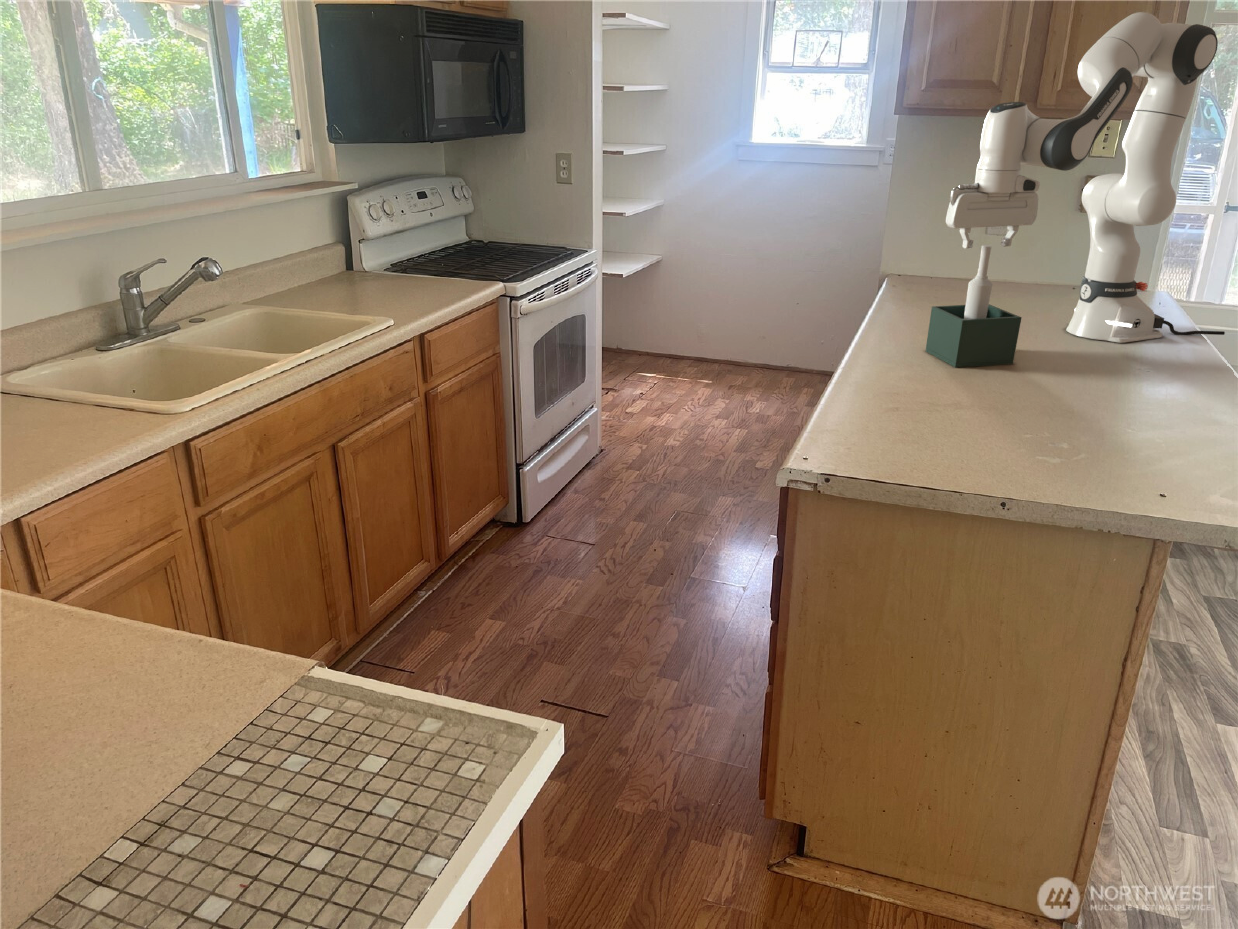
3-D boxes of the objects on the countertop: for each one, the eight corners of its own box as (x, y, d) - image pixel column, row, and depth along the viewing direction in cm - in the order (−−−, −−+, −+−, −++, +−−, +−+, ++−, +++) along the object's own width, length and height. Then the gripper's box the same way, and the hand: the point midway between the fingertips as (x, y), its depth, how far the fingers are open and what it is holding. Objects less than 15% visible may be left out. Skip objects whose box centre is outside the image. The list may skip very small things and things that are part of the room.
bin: (980, 347, 213) (987, 303, 209) (1013, 363, 201) (1021, 317, 196) (925, 351, 211) (931, 306, 206) (955, 367, 198) (962, 320, 194)
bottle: (982, 356, 203) (1001, 248, 193) (959, 355, 203) (976, 247, 193) (978, 350, 207) (996, 244, 197) (955, 349, 208) (972, 243, 198)
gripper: (960, 185, 185) (951, 251, 191) (1046, 182, 189) (1035, 247, 194) (944, 182, 191) (936, 246, 197) (1029, 179, 194) (1018, 242, 200)
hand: (986, 247), depth 195 cm, fingers open, 8 cm apart
